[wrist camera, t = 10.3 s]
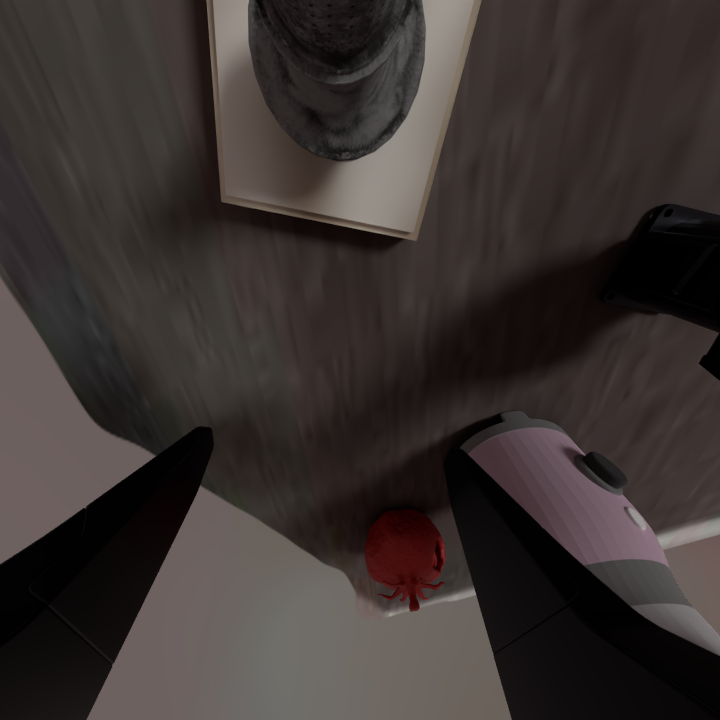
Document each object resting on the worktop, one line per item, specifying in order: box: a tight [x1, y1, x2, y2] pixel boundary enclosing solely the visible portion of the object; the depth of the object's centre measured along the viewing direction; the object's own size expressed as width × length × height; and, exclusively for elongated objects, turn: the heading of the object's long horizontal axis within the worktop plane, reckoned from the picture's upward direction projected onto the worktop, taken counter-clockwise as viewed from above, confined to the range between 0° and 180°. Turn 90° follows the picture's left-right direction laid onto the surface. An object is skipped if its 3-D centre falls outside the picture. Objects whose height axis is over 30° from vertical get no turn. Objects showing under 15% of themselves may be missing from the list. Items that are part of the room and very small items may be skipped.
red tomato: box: [365, 509, 445, 612], centre depth 32 cm, size 10×10×9 cm
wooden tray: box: [207, 0, 482, 241], centre depth 13 cm, size 11×11×2 cm
